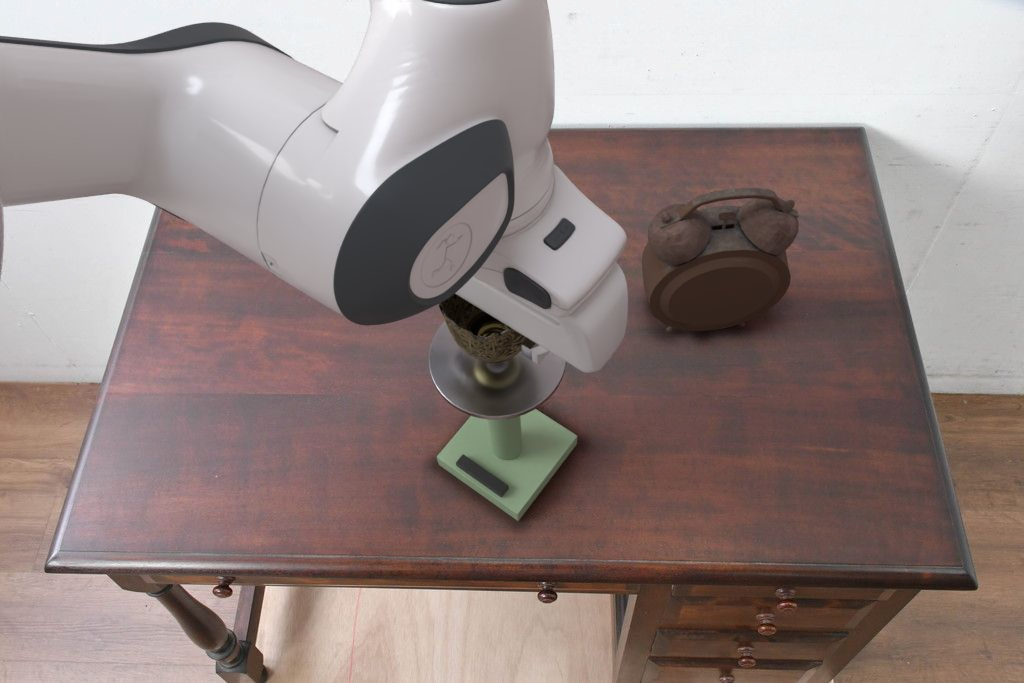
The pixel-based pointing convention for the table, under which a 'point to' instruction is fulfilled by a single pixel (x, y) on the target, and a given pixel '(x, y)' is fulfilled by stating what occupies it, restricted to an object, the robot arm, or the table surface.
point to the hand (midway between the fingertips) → (493, 326)
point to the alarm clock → (718, 259)
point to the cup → (480, 331)
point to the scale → (508, 457)
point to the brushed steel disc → (491, 380)
